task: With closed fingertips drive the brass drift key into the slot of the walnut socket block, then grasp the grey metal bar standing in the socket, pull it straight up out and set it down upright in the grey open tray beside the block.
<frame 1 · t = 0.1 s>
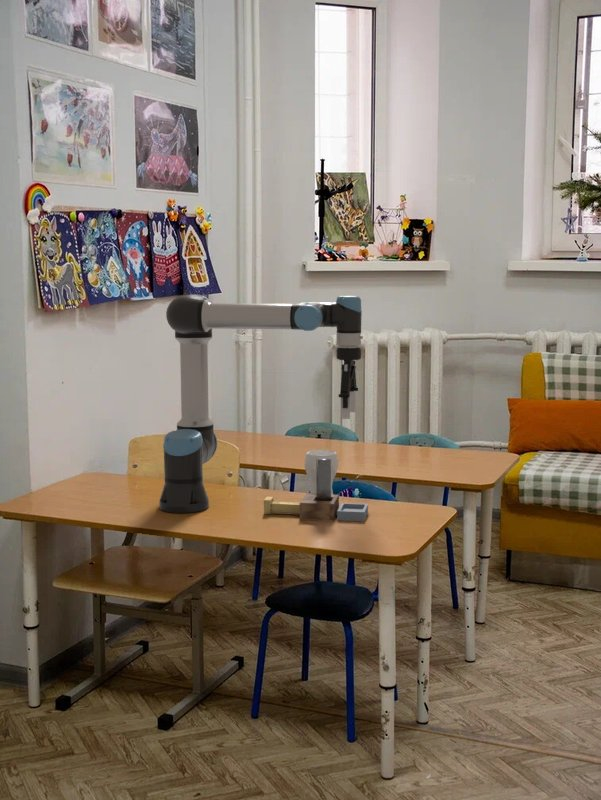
hand: (348, 415, 309), 28 cm above the table, fingers open, 13 cm apart
grey metal bar: (323, 515, 299), resting in socket block
drift key: (285, 506, 301), point 2 cm above the table, slide at 0.0 cm
socket block: (319, 514, 299), on the table
grey open tray: (352, 516, 298), on the table
cup: (321, 499, 319), on the table
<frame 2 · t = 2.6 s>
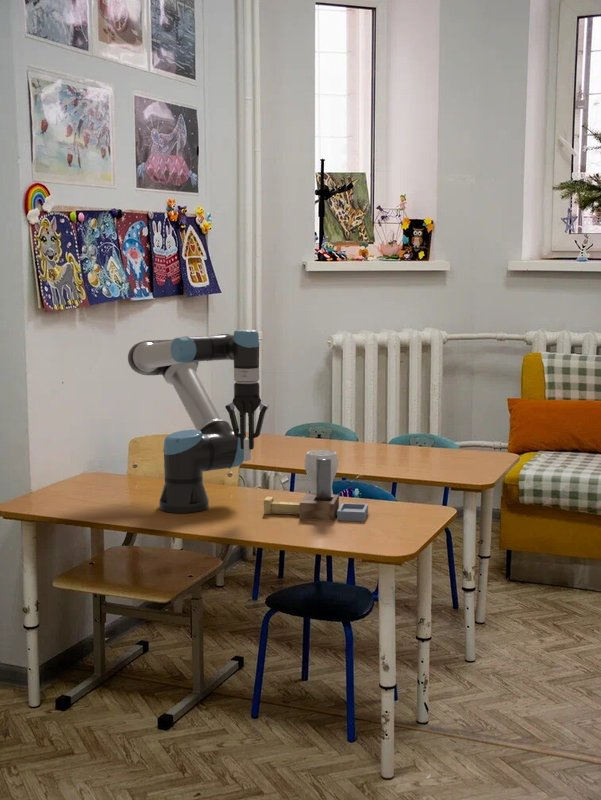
hand: (247, 459, 301), 16 cm above the table, fingers closed
nothing on the table moved.
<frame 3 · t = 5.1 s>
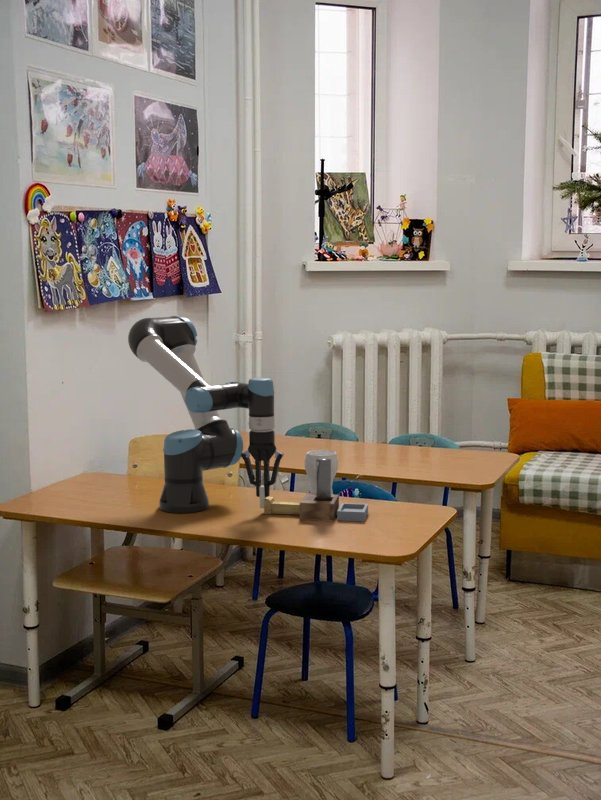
hand: (263, 507, 302), 2 cm above the table, fingers closed
drift key: (285, 506, 301), point 2 cm above the table, slide at 0.1 cm, touching gripper
everything else where it was.
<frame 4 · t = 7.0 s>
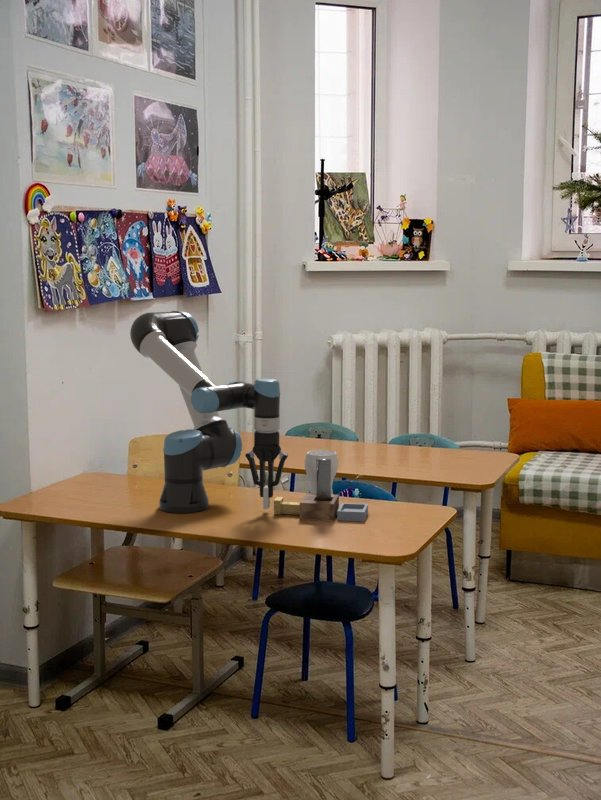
hand: (266, 507, 302), 2 cm above the table, fingers closed
drift key: (294, 506, 300), point 2 cm above the table, slide at 3.0 cm
everything else where it was.
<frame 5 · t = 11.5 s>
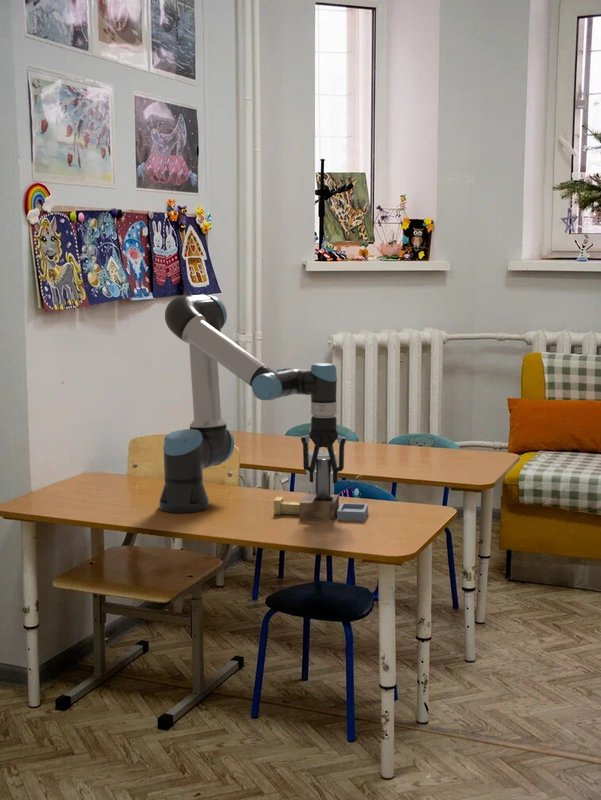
hand: (323, 493, 298), 7 cm above the table, fingers closed on grey metal bar, 4 cm apart
grey metal bar: (323, 515, 299), resting in socket block, touching gripper
everything else where it was.
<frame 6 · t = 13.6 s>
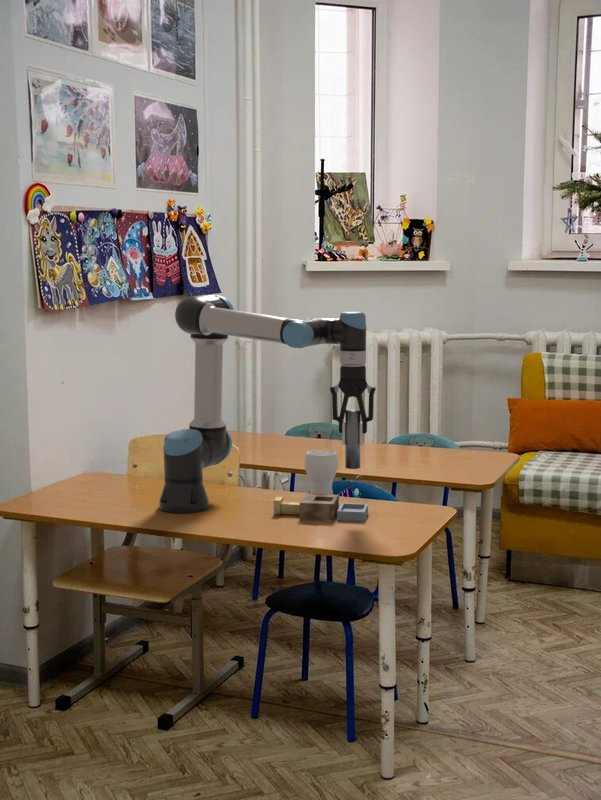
hand: (352, 443, 294), 22 cm above the table, fingers closed on grey metal bar, 4 cm apart
grey metal bar: (352, 467, 295), point 15 cm above the table, touching gripper
everything else where it was.
when the fingers open (10 cm above the table, at t = 16.1 s): grey metal bar drops 1 cm, resting on grey open tray.
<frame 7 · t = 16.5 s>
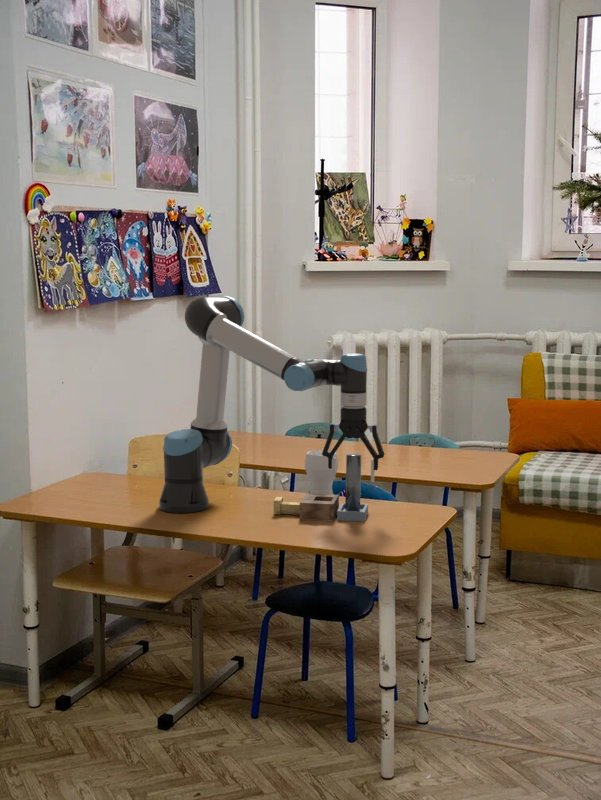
hand: (353, 480, 296), 11 cm above the table, fingers open, 11 cm apart
grey metal bar: (352, 511, 297), point 2 cm above the table, touching grey open tray
everything else where it was.
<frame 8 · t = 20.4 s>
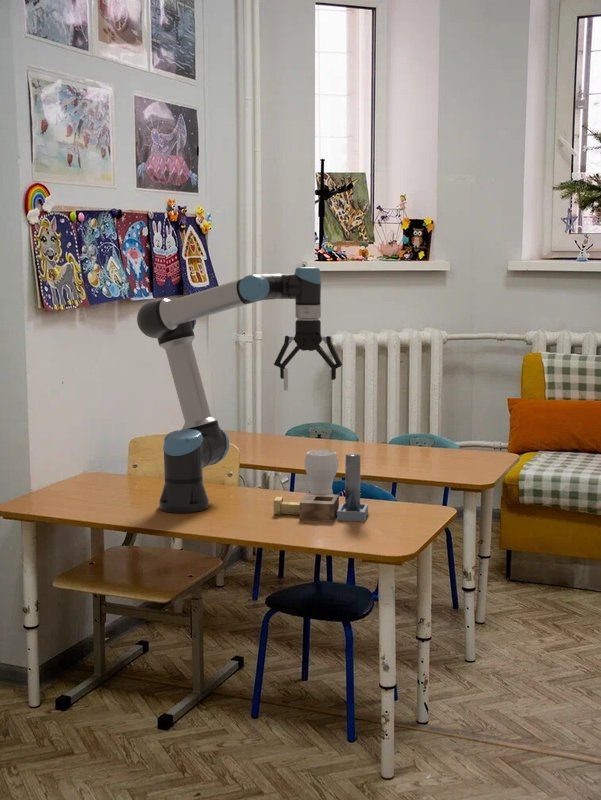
hand: (308, 390, 301), 37 cm above the table, fingers open, 13 cm apart
nothing on the table moved.
at the end: drift key slide at 3.0 cm; grey metal bar inside the target area on the grey open tray (0.1 cm from its centre), point 1.5 cm above the grey open tray's base; grey metal bar tilted 0° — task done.
